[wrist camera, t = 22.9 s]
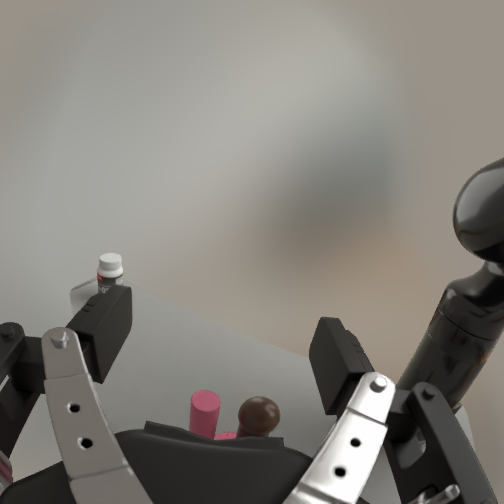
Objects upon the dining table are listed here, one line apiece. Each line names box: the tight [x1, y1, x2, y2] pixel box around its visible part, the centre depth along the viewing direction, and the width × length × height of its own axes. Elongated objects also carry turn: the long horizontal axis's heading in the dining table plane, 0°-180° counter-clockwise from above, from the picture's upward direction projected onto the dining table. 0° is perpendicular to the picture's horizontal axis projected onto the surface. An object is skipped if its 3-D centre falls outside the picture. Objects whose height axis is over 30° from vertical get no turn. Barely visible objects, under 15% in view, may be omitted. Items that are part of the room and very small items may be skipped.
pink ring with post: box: [189, 390, 237, 440], centre depth 19 cm, size 9×8×11 cm
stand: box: [236, 396, 280, 438], centre depth 19 cm, size 8×8×12 cm
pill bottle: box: [97, 253, 123, 294], centre depth 45 cm, size 5×5×8 cm
